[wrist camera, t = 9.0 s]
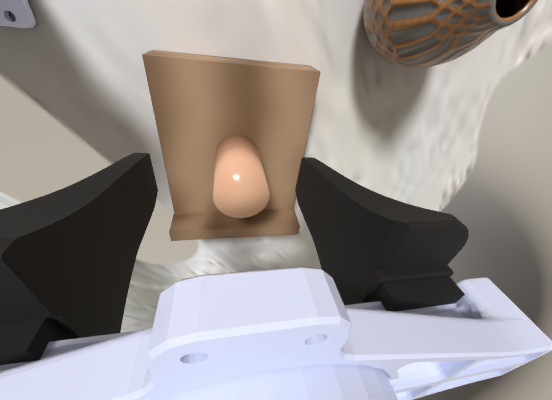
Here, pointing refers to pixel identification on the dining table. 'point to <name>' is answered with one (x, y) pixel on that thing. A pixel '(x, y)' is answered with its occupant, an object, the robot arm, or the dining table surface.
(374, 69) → the dining table surface
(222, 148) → the peach rounded cylinder
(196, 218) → the brown wooden box
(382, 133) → the dining table surface
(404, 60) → the vase
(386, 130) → the dining table surface
